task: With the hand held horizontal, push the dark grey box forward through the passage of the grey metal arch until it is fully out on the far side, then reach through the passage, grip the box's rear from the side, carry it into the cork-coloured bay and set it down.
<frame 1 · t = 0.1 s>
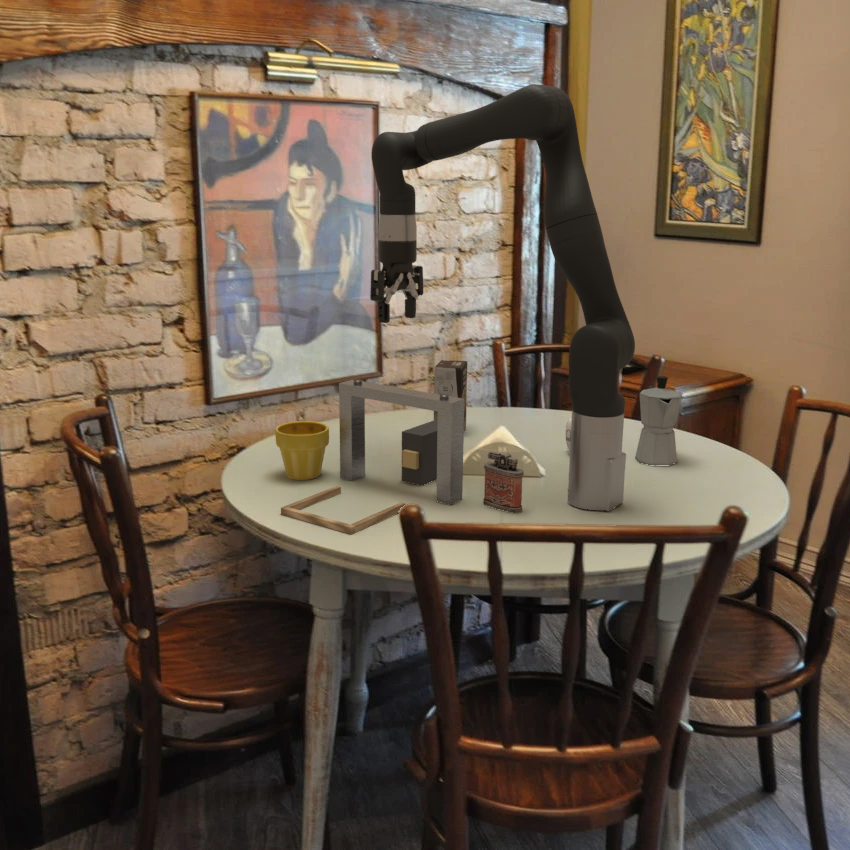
hand: (397, 320, 197), 29 cm above the table, tool pointing down, fingers open, 8 cm apart
plant pot: (303, 476, 193), on the table
coffee maker: (654, 459, 206), on the table
bay: (345, 511, 173), on the table
lighter: (502, 508, 176), on the table
mug: (588, 457, 207), on the table
grey metal arch: (399, 488, 186), on the table
coffee box: (450, 433, 225), on the table
dark grey box: (430, 476, 194), on the table
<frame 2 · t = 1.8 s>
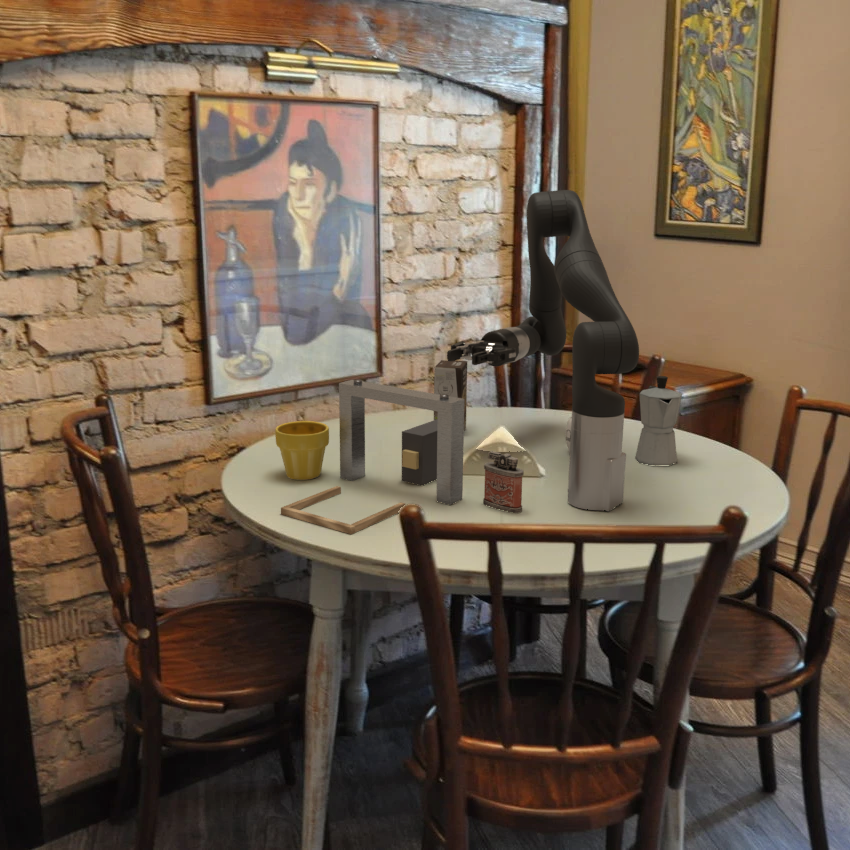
hand: (461, 358, 196), 22 cm above the table, tool horizontal, fingers open, 5 cm apart
nothing on the table moved.
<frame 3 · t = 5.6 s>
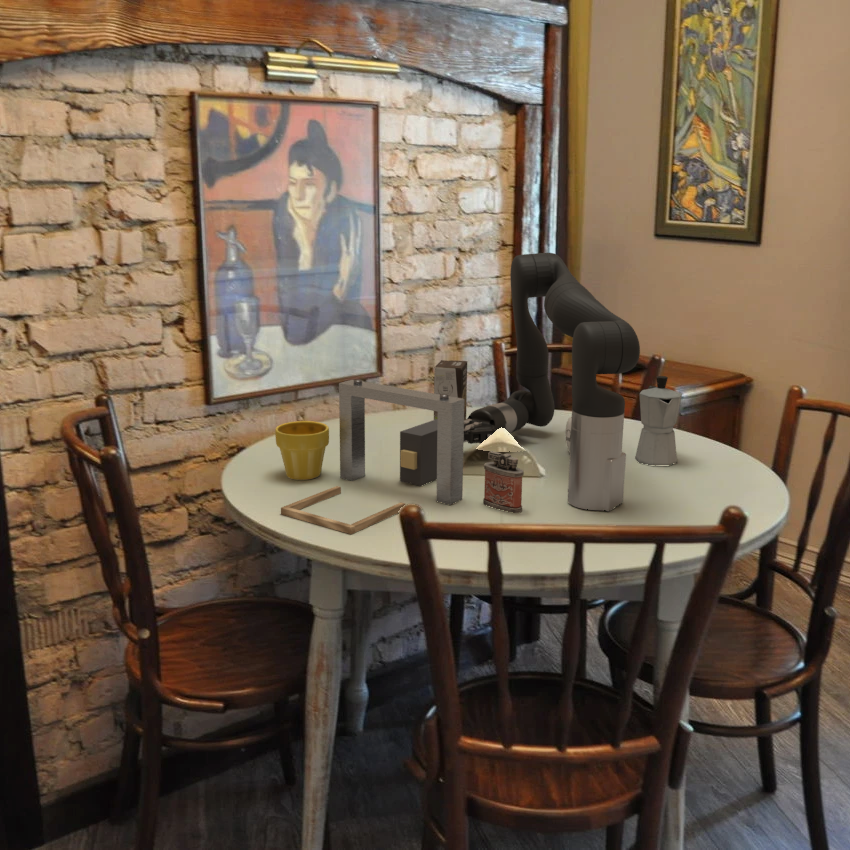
hand: (446, 440, 196), 6 cm above the table, tool horizontal, fingers closed
dark grey box: (428, 476, 193), on the table, touching gripper
everything else where it was.
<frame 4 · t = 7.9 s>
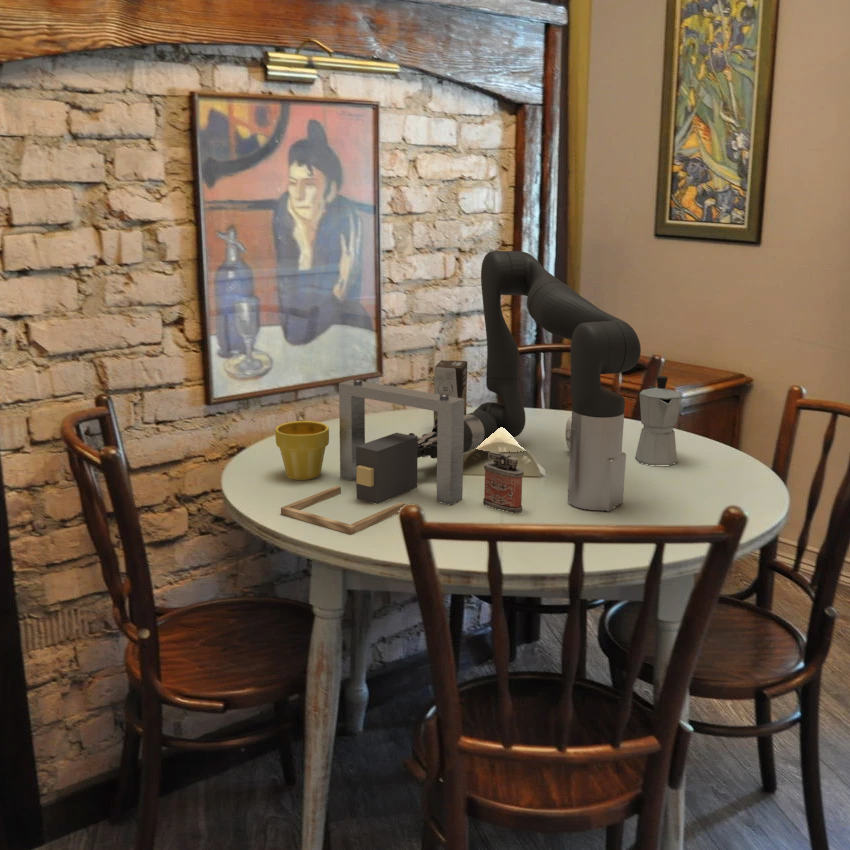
hand: (407, 454, 186), 6 cm above the table, tool horizontal, fingers closed
dark grey box: (387, 492, 183), on the table, touching gripper
everything else where it was.
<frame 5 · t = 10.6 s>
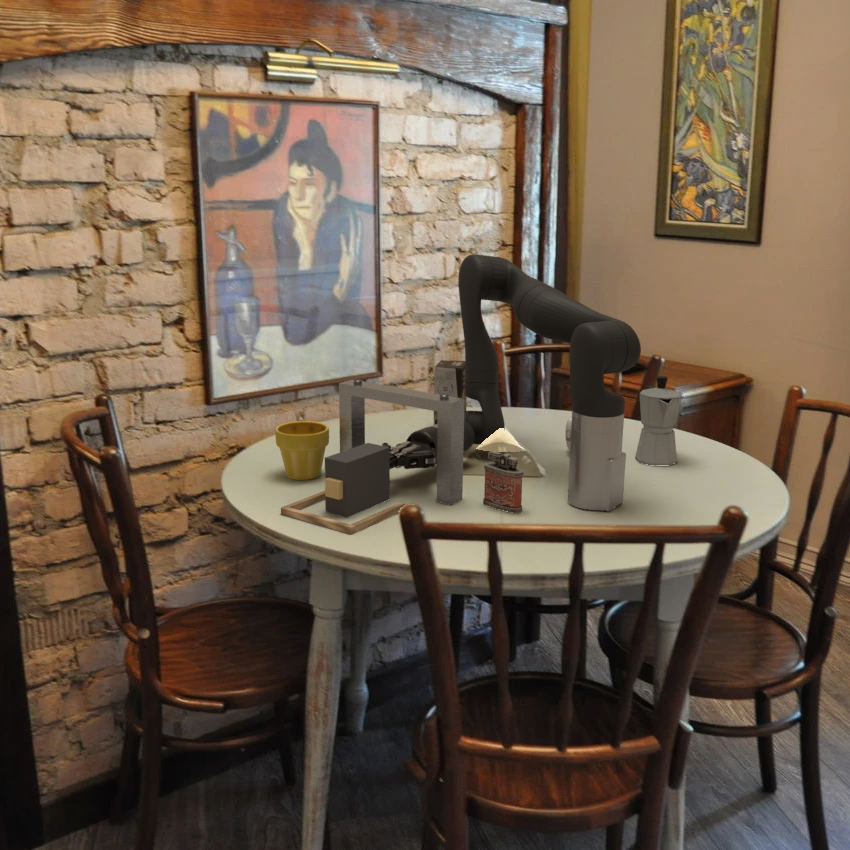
hand: (379, 465, 180), 6 cm above the table, tool horizontal, fingers closed
dark grey box: (358, 505, 177), on the table, touching gripper
everything else where it was.
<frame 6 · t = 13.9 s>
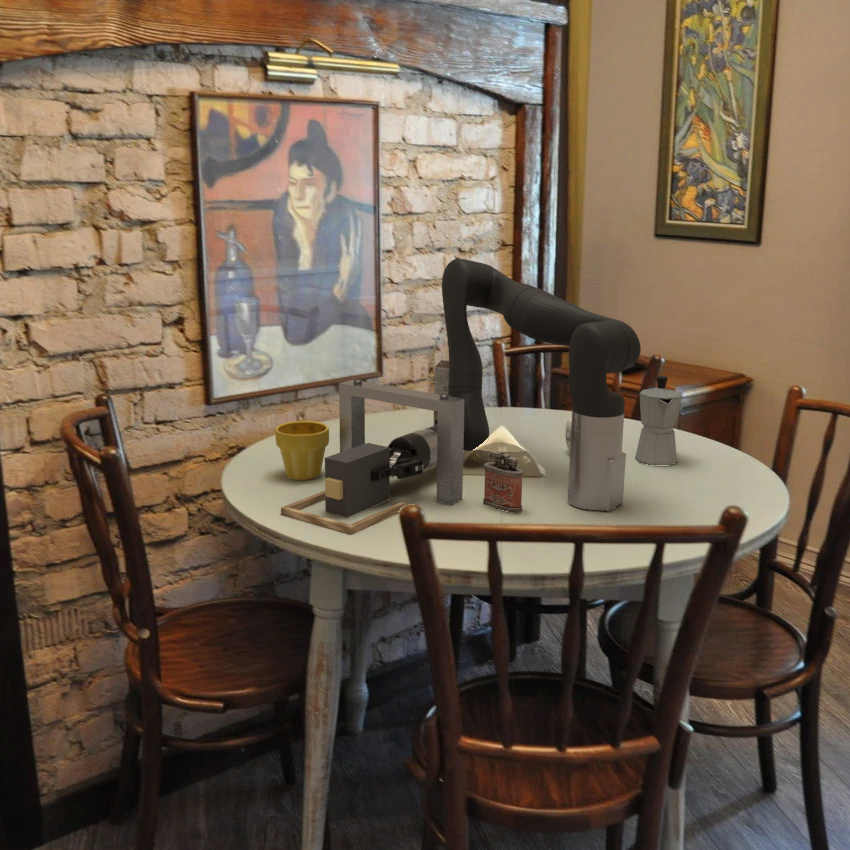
hand: (360, 472, 175), 6 cm above the table, tool horizontal, fingers open, 5 cm apart
nothing on the table moved.
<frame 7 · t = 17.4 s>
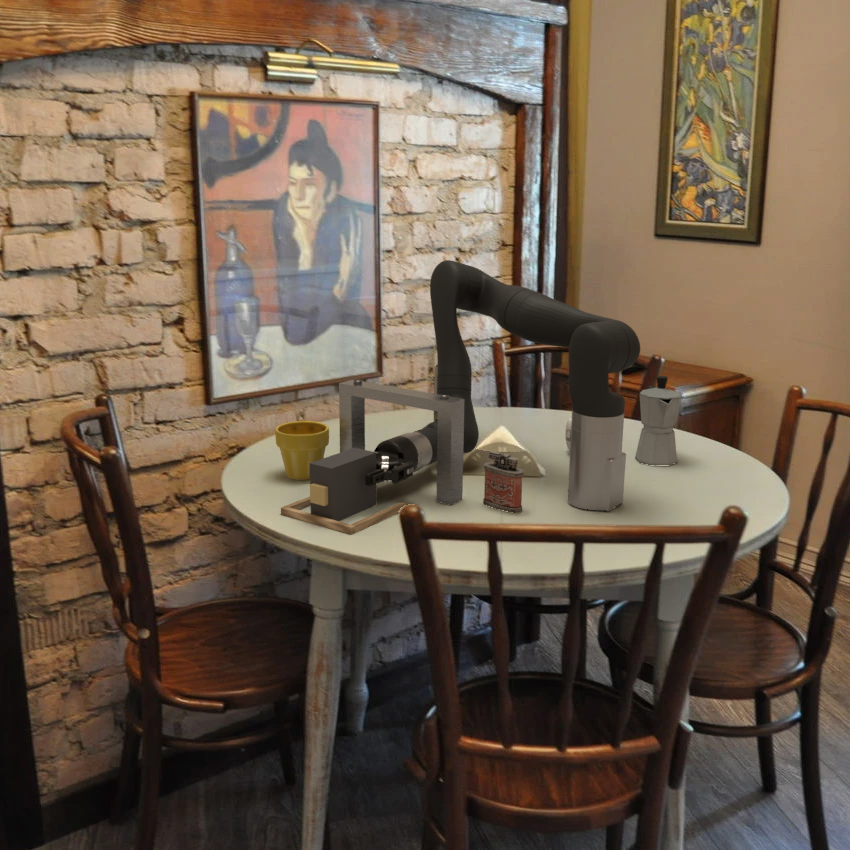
hand: (348, 476, 173), 6 cm above the table, tool horizontal, fingers open, 8 cm apart
dark grey box: (344, 511, 173), on the table
everything else where it was.
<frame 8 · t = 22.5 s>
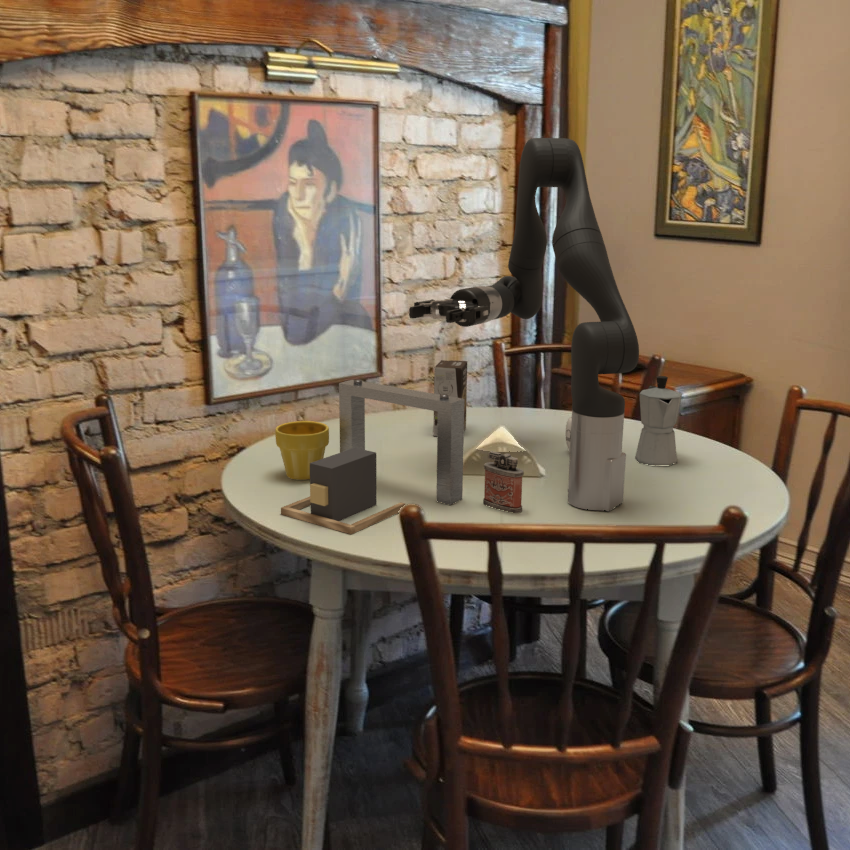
hand: (429, 315, 185), 32 cm above the table, tool horizontal, fingers open, 8 cm apart
nothing on the table moved.
at the end: dark grey box inside the target area (2.4 cm from its centre), on the table; dark grey box tilted 0°; the gripper is holding nothing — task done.
